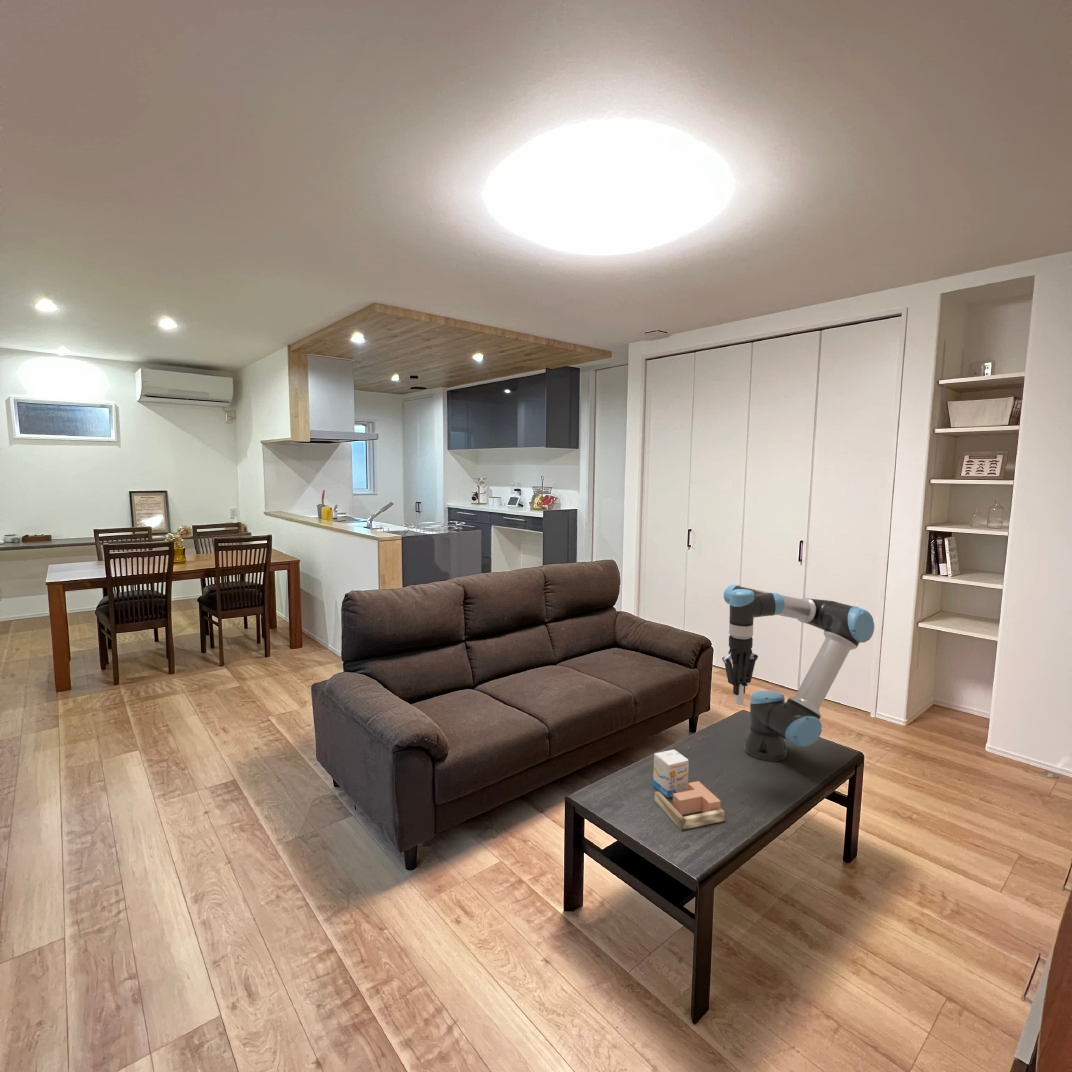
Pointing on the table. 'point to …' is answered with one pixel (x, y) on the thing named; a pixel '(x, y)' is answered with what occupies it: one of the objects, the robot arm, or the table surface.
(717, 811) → the corner fence
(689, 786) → the t block
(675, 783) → the ink box
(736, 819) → the table surface
